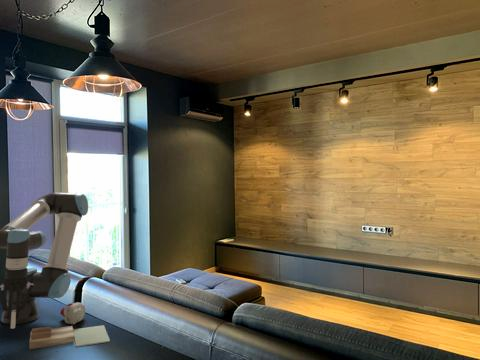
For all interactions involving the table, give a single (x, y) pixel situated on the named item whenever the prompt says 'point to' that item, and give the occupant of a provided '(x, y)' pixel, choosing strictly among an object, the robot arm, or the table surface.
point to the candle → (73, 312)
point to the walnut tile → (41, 333)
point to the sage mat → (90, 336)
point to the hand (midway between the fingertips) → (12, 327)
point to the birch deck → (54, 338)
